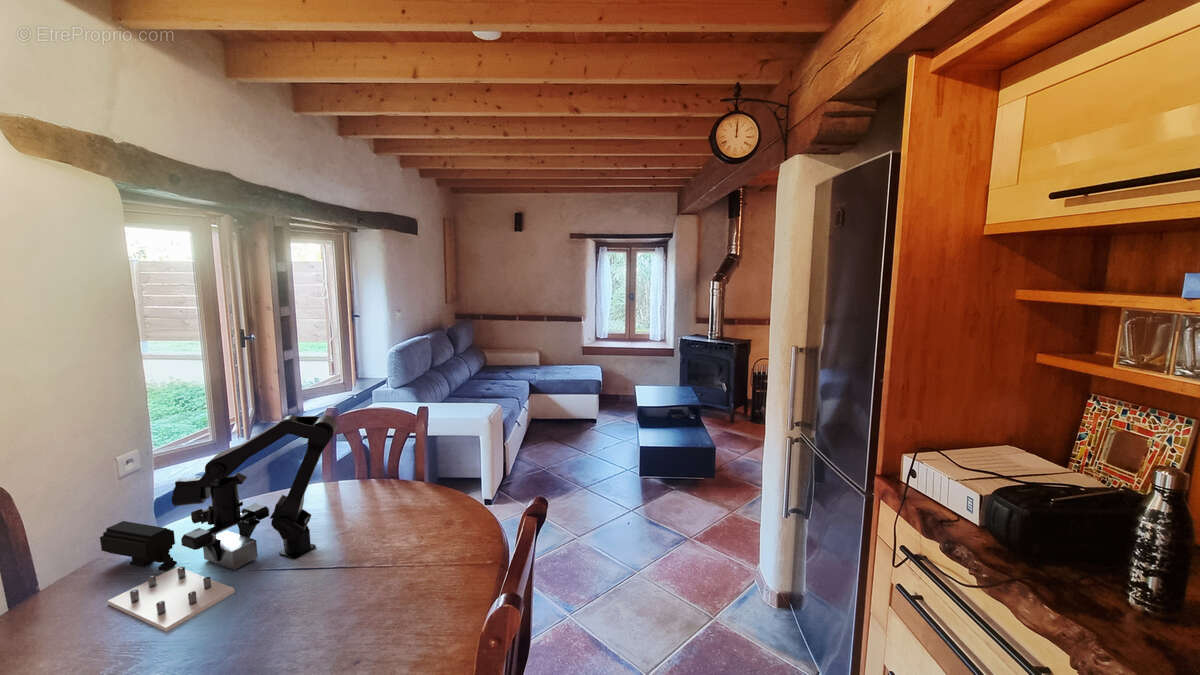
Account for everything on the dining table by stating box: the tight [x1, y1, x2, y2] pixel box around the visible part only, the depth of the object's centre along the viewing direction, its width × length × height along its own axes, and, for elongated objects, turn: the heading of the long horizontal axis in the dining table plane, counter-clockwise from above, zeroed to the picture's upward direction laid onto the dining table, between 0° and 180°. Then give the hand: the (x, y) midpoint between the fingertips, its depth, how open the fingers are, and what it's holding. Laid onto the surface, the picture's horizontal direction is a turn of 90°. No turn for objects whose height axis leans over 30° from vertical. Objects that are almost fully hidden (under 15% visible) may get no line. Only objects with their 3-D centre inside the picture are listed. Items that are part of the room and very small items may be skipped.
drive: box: [202, 530, 258, 571], centre depth 130 cm, size 12×6×5 cm, turn 69°
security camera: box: [99, 520, 178, 572], centre depth 127 cm, size 7×18×10 cm, turn 78°
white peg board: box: [107, 566, 235, 633], centre depth 115 cm, size 22×14×4 cm, turn 69°
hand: (230, 554), depth 130 cm, fingers closed on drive, 6 cm apart
